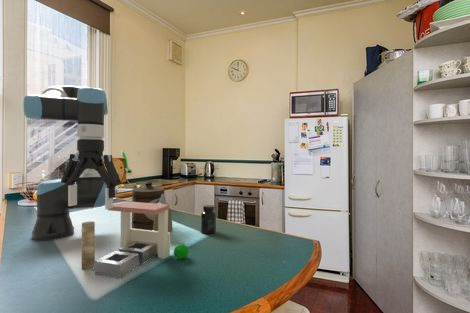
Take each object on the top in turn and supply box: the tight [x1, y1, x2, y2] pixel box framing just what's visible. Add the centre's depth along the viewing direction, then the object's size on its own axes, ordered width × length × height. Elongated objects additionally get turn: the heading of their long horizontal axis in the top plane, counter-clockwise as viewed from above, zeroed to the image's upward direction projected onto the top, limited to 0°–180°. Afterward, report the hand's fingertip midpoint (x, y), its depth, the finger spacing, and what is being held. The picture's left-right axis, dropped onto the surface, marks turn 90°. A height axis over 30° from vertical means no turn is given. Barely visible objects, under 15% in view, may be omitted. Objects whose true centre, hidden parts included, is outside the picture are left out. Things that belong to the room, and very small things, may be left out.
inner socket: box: [118, 241, 158, 265], centre depth 99 cm, size 9×9×4 cm
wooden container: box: [131, 180, 165, 231], centre depth 137 cm, size 15×15×22 cm
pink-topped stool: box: [107, 200, 171, 260], centre depth 100 cm, size 18×10×18 cm, turn 74°
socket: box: [93, 250, 140, 279], centre depth 89 cm, size 9×9×4 cm
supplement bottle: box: [200, 204, 217, 236], centre depth 130 cm, size 7×7×12 cm
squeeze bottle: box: [153, 193, 174, 235], centre depth 122 cm, size 8×8×18 cm
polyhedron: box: [173, 243, 189, 260], centre depth 99 cm, size 5×5×5 cm
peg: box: [81, 221, 96, 271], centre depth 91 cm, size 4×4×14 cm
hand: (90, 207), depth 91 cm, fingers open, 13 cm apart
